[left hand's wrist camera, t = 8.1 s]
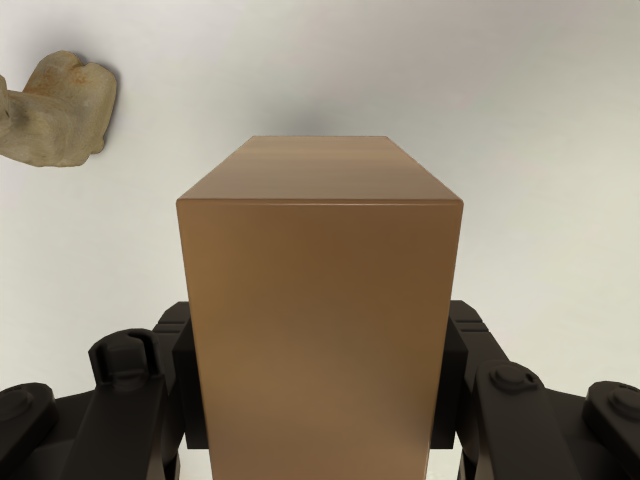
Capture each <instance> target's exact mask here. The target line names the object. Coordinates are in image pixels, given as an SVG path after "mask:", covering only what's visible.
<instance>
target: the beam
mask: <svg viewBox="0 0 640 480" xmlns="http://www.w3.org/2000/svg"><path fill="white" fill-rule="evenodd" d="M463 206H464V203H463V200H462V199H460V198H459V197H458V196H457V195H456V194H454V193H453V192H452V191H451V190H450V189H448V188H447V187H446V186H445V185H444V184H443V183H441V182H440V181H439V180H438V179H437V178H435V177H434V176H433V175H432V174H431V173H429V172H428V171H427V170H426V169H425V168H424V167H422V166H421V165H420V164H419V163H418V162H416V161H415V160H414V159H413V158H412V157H410V156H409V155H408V154H407V153H406V152H405V151H403V150H402V149H401V148H400V147H399V146H397V145H396V144H395V143H394V142H393V141H391V140H390V139H389V138H388V137H386V136H253V137H252V138H250V139H249V140H248V141H247V142H246V143H244V144H243V145H242V146H241V147H240V148H238V149H237V150H236V151H235V152H234V153H232V154H231V155H230V156H229V157H228V158H226V159H225V160H224V161H223V162H222V163H220V164H219V165H218V166H217V167H216V168H214V169H213V170H212V171H211V172H210V173H208V174H207V175H206V176H205V177H204V178H202V179H201V180H200V181H199V182H198V183H196V184H195V185H194V186H193V187H192V188H190V189H189V190H188V191H187V192H186V193H184V194H183V195H182V196H181V197H180V198H178V199H177V201H176V209H177V216H178V224H179V231H180V238H181V246H182V253H183V261H184V268H185V276H186V283H187V291H188V298H189V306H190V313H191V320H192V328H193V335H194V343H195V350H196V358H197V365H198V373H199V380H200V388H201V395H202V402H203V410H204V417H205V425H206V432H207V440H208V447H209V455H210V462H211V469H212V477H213V480H426V473H427V466H428V458H429V451H430V444H431V437H432V430H433V422H434V415H435V408H436V401H437V394H438V386H439V379H440V372H441V365H442V357H443V350H444V343H445V336H446V329H447V321H448V314H449V307H450V300H451V292H452V285H453V278H454V271H455V264H456V256H457V249H458V242H459V235H460V228H461V220H462V213H463Z"/></svg>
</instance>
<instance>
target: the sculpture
mask: <svg viewBox="0 0 640 480" xmlns="http://www.w3.org/2000/svg"><path fill="white" fill-rule="evenodd" d="M116 87H117V84H116V80H115V77H114V75H113V74H112V73H111V72H110V71H108V70H107V69H105V68H103V67H102V66H100V65H98V64H97V63H88V64H86V65H85V66H84V65H83V64H82V62H81V61H80V59H79V58H78V57H77V56H75V55H74V54H72V53H70V52H67V51H58V52H56V53H53V54H50V55H48V56H46V57H45V58H44V59H43V60H41V61H40V62H39V64H38V65H37V67H36V68H35V70H34V72H33V73H32V75H31V77H30V79H29V80H28V82H27V84H26V86H25V88H24V90H23V92H17V91H11V90H7V85H6V81H5V78H4V77H3V76H1V75H0V155H3V156H5V157H8V158H10V159H13V160H16V161H19V162H22V163H26V164H29V165H32V166H35V167H44V166H54V167H74V166H80V165H82V164H84V163H85V162H86V160H87V159H88V157H89V156H90V154H95V153H100V152H101V150H102V149H103V146H104V139H103V136H104V133H105V131H106V129H107V127H108V124H109V121H110V117H111V114H112V110H113V106H114V101H115V96H116Z"/></svg>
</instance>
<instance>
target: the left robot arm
mask: <svg viewBox="0 0 640 480" xmlns="http://www.w3.org/2000/svg"><path fill="white" fill-rule="evenodd" d="M88 354H89V358H90V362H91V365H92V369H93V373H94V377H95V381H96V388H95V390H92V391H88V392H85V393H81V394H76V395H71V396H67V397H62V398H58V399H55V398H54V395H53V392H52V389H51V388H50V387H49V386H47V385H46V384H42V383H26V384H20V385H17V386H14V387H10V388H7V389H5V390H3V391H1V392H0V480H179V474H180V460H179V454H178V448H179V445H180V443H181V440H182V437H183V435H184V432H185V437H186V443H187V449H209V447H208V440H207V432H206V425H205V417H204V410H203V402H202V395H201V388H200V380H199V373H198V365H197V358H196V350H195V343H194V335H193V328H192V320H191V313H190V306H189V302H177V303H176V304H175V305H173V306H172V307H170V308H169V309H167V310H166V311H165V312H164V314H163V315H162V317H161V318H160V320H159V321H158V324H156V326H155V327H154V329H153V330H152V331H151V330H147V329H143V328H138V329H127V330H122V331H117V332H115V333H112V334H110V335H108V336H105V337H104V338H102V339H101V340H99V341H98V342H96V343H95V344H94V345H93V346H92V347H91V349H90V350H89V351H88ZM455 432H457V435H458V437H459V440H460V443H461V445H462V454H461V459H460V465H459V471H458V476H457V480H640V390H639V389H637V388H636V387H633V386H630V385H626V384H623V383H620V382H612V381H601V382H595V383H594V384H593V385H592V386H590V387H589V389H588V393H587V396H586V397H581V396H576V395H572V394H567V393H563V392H558V391H554V390H551V389H547V388H545V387H544V384H543V383H542V382H541V380H540V379H539V377H538V376H537V375H536V374H534V373H533V372H532V371H531V370H529V369H528V368H526V367H524V366H522V365H520V364H517V363H515V362H511V361H509V359H508V358H507V356H506V355H505V353H504V352H503V350H502V349H501V347H500V346H499V344H498V343H497V341H496V340H495V338H494V337H493V335H492V334H491V332H489V329H488V328H487V327H486V325H485V324H484V323H483V322H482V319H481V318H480V316H479V315H478V313H477V312H476V310H475V309H473V308H472V307H470V306H469V305H468V304H466V303H465V302H463V301H462V300H450V307H449V314H448V321H447V329H446V336H445V343H444V350H443V357H442V365H441V372H440V379H439V386H438V394H437V401H436V408H435V415H434V422H433V430H432V437H431V444H430V449H453V444H454V438H455Z"/></svg>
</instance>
